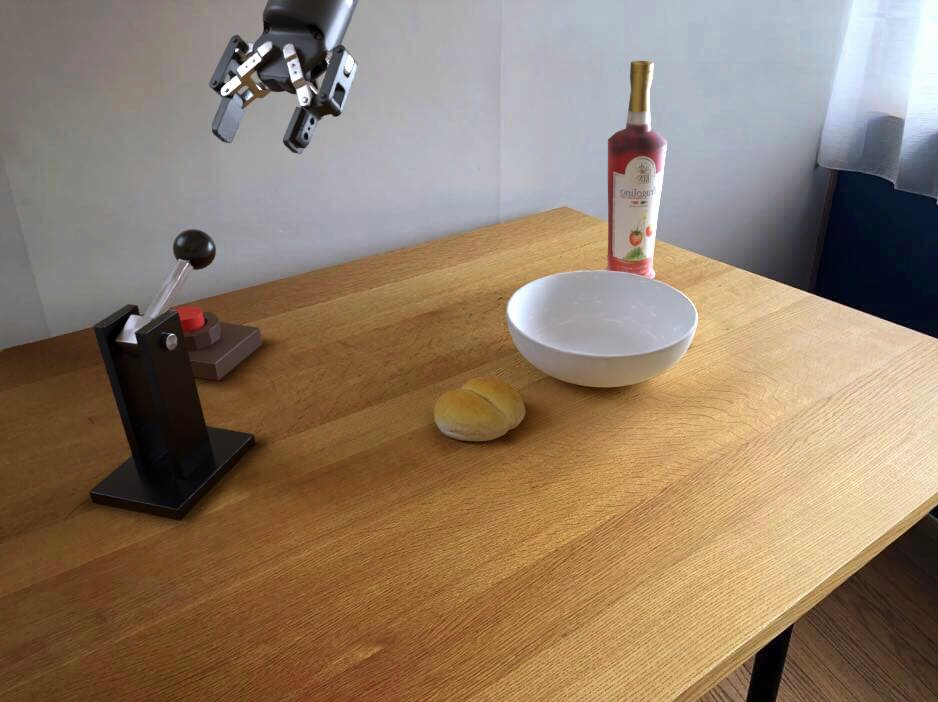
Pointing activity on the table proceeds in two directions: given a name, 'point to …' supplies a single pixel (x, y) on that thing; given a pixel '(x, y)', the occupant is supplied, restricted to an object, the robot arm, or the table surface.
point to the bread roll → (479, 410)
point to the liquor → (635, 181)
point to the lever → (170, 283)
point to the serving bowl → (601, 326)
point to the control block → (219, 346)
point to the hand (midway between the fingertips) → (255, 143)
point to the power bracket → (161, 422)
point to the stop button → (191, 318)
